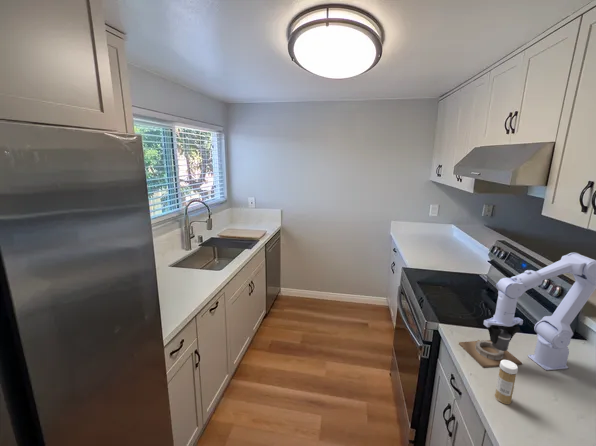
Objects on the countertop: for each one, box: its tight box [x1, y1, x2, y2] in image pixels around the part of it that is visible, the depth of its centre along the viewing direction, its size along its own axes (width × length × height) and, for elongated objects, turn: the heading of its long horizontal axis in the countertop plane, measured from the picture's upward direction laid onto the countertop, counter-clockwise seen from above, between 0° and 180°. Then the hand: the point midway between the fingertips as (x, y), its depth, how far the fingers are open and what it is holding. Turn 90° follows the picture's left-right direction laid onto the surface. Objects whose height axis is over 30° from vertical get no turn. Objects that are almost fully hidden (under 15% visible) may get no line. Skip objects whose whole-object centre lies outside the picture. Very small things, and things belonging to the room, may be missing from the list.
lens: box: [492, 328, 511, 351], centre depth 108 cm, size 5×5×6 cm
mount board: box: [458, 339, 523, 368], centre depth 114 cm, size 16×14×3 cm
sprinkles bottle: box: [494, 360, 519, 405], centre depth 91 cm, size 5×5×14 cm
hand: (499, 341), depth 109 cm, fingers closed on lens, 5 cm apart
